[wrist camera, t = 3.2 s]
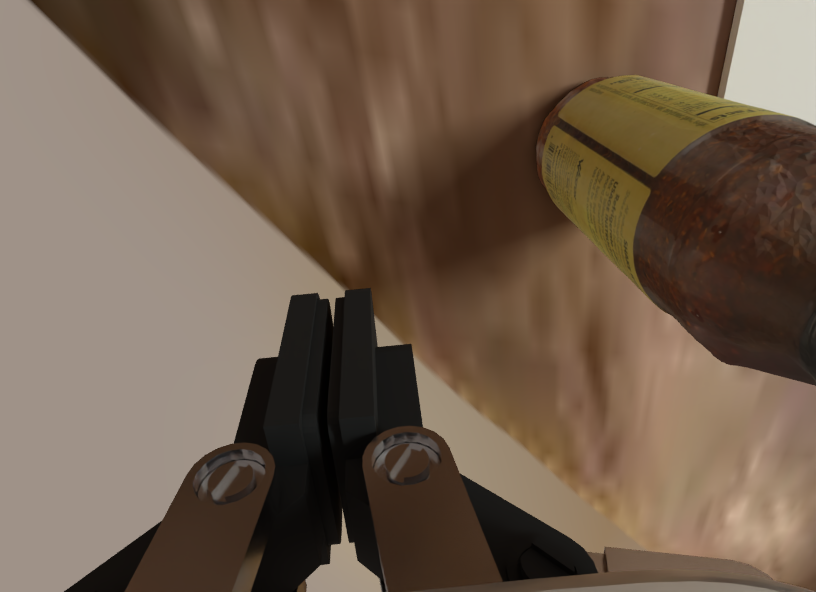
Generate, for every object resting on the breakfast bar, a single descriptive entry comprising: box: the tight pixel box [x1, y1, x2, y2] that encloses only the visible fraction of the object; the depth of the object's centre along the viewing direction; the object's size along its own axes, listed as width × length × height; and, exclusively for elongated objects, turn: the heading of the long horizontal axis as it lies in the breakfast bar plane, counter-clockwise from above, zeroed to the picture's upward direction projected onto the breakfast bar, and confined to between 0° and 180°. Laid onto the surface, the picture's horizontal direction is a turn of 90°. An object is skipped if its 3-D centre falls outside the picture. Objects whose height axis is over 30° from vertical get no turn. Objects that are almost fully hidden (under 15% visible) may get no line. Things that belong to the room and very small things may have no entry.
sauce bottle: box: [536, 75, 816, 386], centre depth 16 cm, size 7×6×20 cm
